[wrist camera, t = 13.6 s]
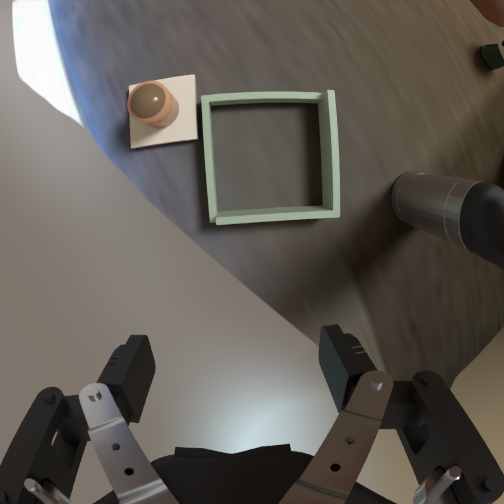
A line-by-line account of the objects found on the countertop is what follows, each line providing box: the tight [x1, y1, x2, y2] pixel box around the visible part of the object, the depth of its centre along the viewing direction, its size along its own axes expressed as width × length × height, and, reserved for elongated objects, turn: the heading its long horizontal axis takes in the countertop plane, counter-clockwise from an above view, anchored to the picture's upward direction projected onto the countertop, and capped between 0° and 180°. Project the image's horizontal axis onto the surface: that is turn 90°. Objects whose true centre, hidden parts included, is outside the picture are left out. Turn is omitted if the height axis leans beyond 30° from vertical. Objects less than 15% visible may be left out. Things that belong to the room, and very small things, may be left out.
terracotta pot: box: [127, 81, 179, 128], centre depth 32 cm, size 5×5×7 cm
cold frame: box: [201, 90, 340, 225], centre depth 38 cm, size 18×18×5 cm
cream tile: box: [129, 74, 199, 149], centre depth 36 cm, size 10×10×2 cm
